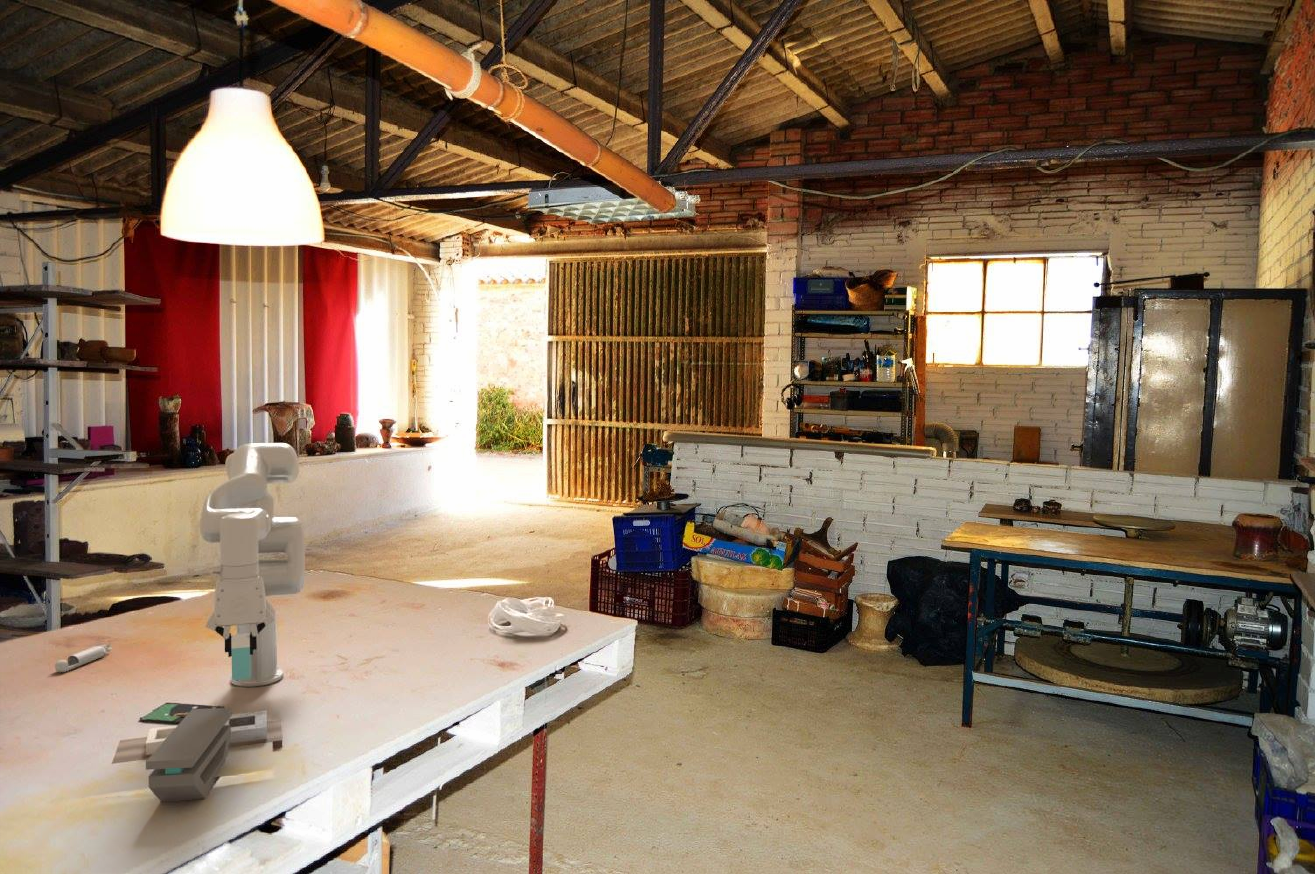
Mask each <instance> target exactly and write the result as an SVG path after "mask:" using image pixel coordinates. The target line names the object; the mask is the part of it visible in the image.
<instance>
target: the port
mask: <svg viewBox="0 0 1315 874" xmlns="http://www.w3.org/2000/svg"><path fill="white" fill-rule="evenodd" d="M267 716H268V711H267V710H257V711H251V712H244V713H234V714H232V716H231V717H230V718H229V720H228V721H227V722H226V724H225V725H231V737H230V742H229V745H237V744H244V743H251V742H259V741H266V740H267V722H268V717H267Z"/></svg>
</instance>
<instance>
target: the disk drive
mask: <svg viewBox="0 0 1315 874" xmlns="http://www.w3.org/2000/svg"><path fill="white" fill-rule="evenodd" d="M211 708H225V706H221V705H206V704H205V705H204V704H194V703H193V704H192V703H182V702H181V703H179V702H165V703H164V704H161V705H160V706H158V707H156V708H154V709H152V711H151V712H149V713H147V714H146V715H144V716H140V717H139V720H138V722H139V723H140V722H142V723H152V724H153V723H154V724H168V725H179V723H180V722H181V721H182V720H183V719H184V718H185V717H186V716H187V714H188V713H189V712H190V711H191V710H192V709H211Z"/></svg>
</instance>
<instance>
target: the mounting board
mask: <svg viewBox="0 0 1315 874" xmlns="http://www.w3.org/2000/svg"><path fill="white" fill-rule="evenodd" d="M147 737H148V736H145V737H144V736H143V737H137V738H128V739H121V740H119V742H118V745H117V747H116V750H115V753H114V756H113V759H112V762H111V764H118V763H119V764H121V763H125V762H132V761H141V760H148V758H149V757H150V756H151V755H152V754H150V755H146V741H147ZM265 743H272V744H271V745H272V749H274V748H275V749H276V748H283V731H282V719H278V720H269V721H268V720H267V740H266V741H259V742H251V743H244V744H237V745H229V747H228V749H229V748H235V747H243V746H251V745H258V744H265Z"/></svg>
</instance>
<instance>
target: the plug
mask: <svg viewBox="0 0 1315 874" xmlns="http://www.w3.org/2000/svg"><path fill="white" fill-rule="evenodd" d="M231 636H232V638H231V650H232V656H231V676H232V680H241V679H250V633H248V634H237V633H236V634H231Z"/></svg>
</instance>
